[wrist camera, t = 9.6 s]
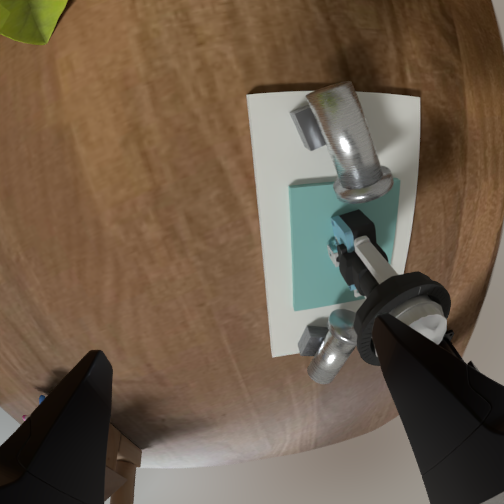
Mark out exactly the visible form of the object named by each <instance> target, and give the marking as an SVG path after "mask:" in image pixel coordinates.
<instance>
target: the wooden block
mask: <svg viewBox="0 0 504 504" xmlns="http://www.w3.org/2000/svg"><path fill="white" fill-rule="evenodd" d="M141 455H142V451H141V449H139V448H138V447H137V446H136V445H134V444H133V443H132V442H131V441H130V440H128V439H127V438H126V437H125V436H124V435H123V434H121V433H120V431H118V430H117V429H116V428H115V427H114V426H113V425H112V424H111V423H110V424H109V433H108V443H107V455H106V469H105V491H104V501H106V500H107V499H108V498H109V497H110V496H111V499H110V504H133V501H134V486H135V474H136V467H140V465H141Z"/></svg>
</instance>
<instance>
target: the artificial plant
mask: <svg viewBox="0 0 504 504" xmlns="http://www.w3.org/2000/svg"><path fill="white" fill-rule="evenodd" d="M67 1H68V0H0V34H1V35H3V36H6V37H8V38H10V39H13V40H15V41H19V42H23V43H29V44H35V45H45V44H47V42H48V41H49V39H50V37H51V34H52V32H53V30H54V28H55V26H56V23H57V21H58V18H59V16H60V14H61V13H62V11H63V10H64V8H65V6H66V4H67Z"/></svg>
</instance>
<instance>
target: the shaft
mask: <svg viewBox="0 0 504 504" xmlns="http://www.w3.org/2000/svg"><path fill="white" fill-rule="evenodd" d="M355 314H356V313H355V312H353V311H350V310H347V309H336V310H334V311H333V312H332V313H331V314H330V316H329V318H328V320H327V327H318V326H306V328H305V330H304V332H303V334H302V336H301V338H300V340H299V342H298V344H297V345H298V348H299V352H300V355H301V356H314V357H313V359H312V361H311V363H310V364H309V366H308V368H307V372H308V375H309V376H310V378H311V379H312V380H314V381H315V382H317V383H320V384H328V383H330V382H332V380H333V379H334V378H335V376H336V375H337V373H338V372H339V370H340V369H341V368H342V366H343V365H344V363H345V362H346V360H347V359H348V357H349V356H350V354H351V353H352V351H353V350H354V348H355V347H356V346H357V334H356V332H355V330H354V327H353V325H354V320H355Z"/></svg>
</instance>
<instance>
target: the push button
mask: <svg viewBox="0 0 504 504" xmlns="http://www.w3.org/2000/svg"><path fill="white" fill-rule="evenodd" d="M331 224H332V227H333V233H334V239H335V245H336V251H337V252H336V253H333V250H332V249H331V247H330V246H329V244H327V248H328V254H329V257H330V259H331V260H332V262H333V264H335V267H338V266H339V270H340V273H341V275H342V277H343V278H344V280H345V282H346V283H347V285H348V287H349V289H350V290H351V291H352V290H354V296H355V297H359V296H361V295H362V296H364V297H365V299H366V300H365V301H364V302H363V304H362V305H361V306H360V308H359V309H358V310H357V312H356V314H355V320H354V325H353V327H354V330H355V332H356V334H357V349H358V351H359V353H360V356H361V358H362V359H363V360H364V361H365V362H367V363H369V364H371V365H376V366H380V363H379V359H378V356H377V353H376V350H375V346H374V343H373V340H372V329H373V325H374V320H375V317H376V316H377V315H379V314H383V313H389V314H391V315H393V316H394V317H396V318H397V319H399V320H400V321H402V322H403V323H405V324H407V325H408V326H410V327H411V328H413V329H414V330H416V331H417V332H419V333H421V334H422V335H424V336H425V337H427V338H428V339H430V340H431V341H433V342H434V343H436V344H439V343H440V342H441V341H442V339H443V336H444V334H445V332H446V330H447V318H448V315H449V312H450V307H451V300H450V295H449V293H448V292H447V290H446V289H445V288H444V287H443V286H442V285H441V284H440V283H438V282H436V281H432V280H431V279H430V278H429V277H428V276H426V275H424V274H423V273H421V272H412V273H406V274H401V275H399V274H397V273H396V271H395V270H394V269H393V268H392V267H391V265H390V264H389V263H388V257H387V255H386V253H385V252H384V251H383V249H382V248H381V247H380V246H379V245H378V244H377V241H376V229H375V225H374V223H373V222H372V221H371V220H370V219H369V218H368V217H367V216H366V215H365V214H364V213H363V212H362V211H361V210H359V209H358V210H355V211H352V212H348V213H345V214H342V215H338V216H335V217H332V218H331ZM330 252H331V253H330ZM357 290H358V292H359V293H357Z"/></svg>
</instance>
